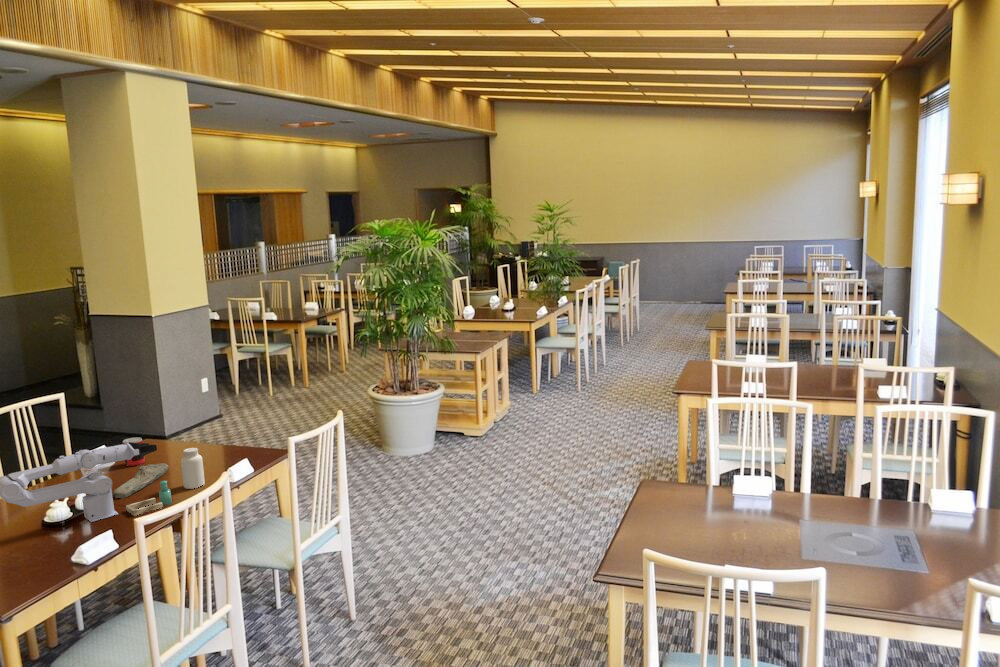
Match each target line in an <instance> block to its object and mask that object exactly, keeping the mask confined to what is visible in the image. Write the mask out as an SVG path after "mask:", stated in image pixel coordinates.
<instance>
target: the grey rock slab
mask: <svg viewBox="0 0 1000 667" xmlns="http://www.w3.org/2000/svg"><path fill="white" fill-rule="evenodd" d="M137 469H138V471H137V472H136V473H135V474H134V476H133V477H132V478H130V479H129V480H127V481H126V482H124V483H123V484H122V485H120V486H117V488H114V490H113V492H112V497H114V498H115V499H116V498H123V499H126V498H125V497H127V498H128V496H132V495H133V494H136V493H138V492H139V491H141V489H142V490H143V489H144V488H146V487H148V486H149V485H152V484H153V482H154V481H156V480H158V479H159V478H161V477H162V476H164V475H165V474H166V472H167V471H168V470H169V465H168V464H167V463H161V462H160V463H156V464H151V463H150V464H149V463H148V464H146V465H144V464H142V465H139V467H138V468H137ZM164 473H165V474H164ZM137 491H138V492H137Z"/></svg>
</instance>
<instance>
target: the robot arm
mask: <svg viewBox="0 0 1000 667" xmlns="http://www.w3.org/2000/svg"><path fill="white" fill-rule="evenodd" d="M156 451H158V446H157V444H150V443H149V442H148V443H147V442H143V443H131V442H128V440H126V441H125V444H123V443H122V444H116V445H113V446H112V445H111V446H106V447H102V448H101V447H100V448H97V449H92V450H89V449H80V450H79V451H76V452H75V453H73V454H70V455H66V456H65V455H59V456H58V458H55V460H54V461H53V462H52V463H51V464H46V465H41V466H38V467H33V468H29V469H24V470H20V471H16V472H11V473H8V474H7V475H3V476H0V497H1V499H2V500H4V501H5V502H7V503H8V504H13V505H16V506H20V507H24V508H26V507H27V508H28V507H32V506H36V505H41V504H43V503H44V504H45V503H49V502H53V501H56V500H61V499H65V498H69V497H73V496H78V495H82V494H84V495H83V496H82V498H81V500H82V508H83V514H84V516H83V517H84V518H85V519H86V520H87V519H88V520H89V521H90V522H89V521H88V520H87V521H88V522H89V523H93V522H96V521H101V520H103V519H104V520H105V519H107V518H110V517H111V518H112V517H114V515H115V516H118V515H119V513H118V512H117V510H115V505H114V498H113V497H114V496H113V491H112V488H113V480H112V478H110V477H109V476H107V475H105V474H104V473H102V472H101V471H98V470H97V471H92V472H90V473H88V474H87V475H84V476H81V477H80V478H79V479H76V480H75V479H74V480H71V481H67V482H63V483H62V482H61V483H58V484H57V483H56V484H53V485H50V486H45V487H40V488H36V489H31V490H28V489H26V488H27V486H28V485H29V483H30V482H33V481H35V480H37V479H38V480H39V479H41V478H44V477H46V476H50V475H53V474H57V475H59V476H62V475H65V474H68V473H72V472H75V471H79V470H81V469H82V468H84V469H90V470H91V469H94V468H95V467H96V466H99V465H105V464H110V463H116V462H121V461H125V460H130V459H131V458H132V457H133V456H135V455H137V459H141V458H142V457H143V456H144V457H145V456H147V455H149V454H151V453H154V452H156ZM85 494H86V495H85ZM100 519H101V520H100Z"/></svg>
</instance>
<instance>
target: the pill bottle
mask: <svg viewBox="0 0 1000 667" xmlns="http://www.w3.org/2000/svg"><path fill="white" fill-rule="evenodd" d="M182 452H183V456H182V457H181V460H180V466H181V474H182V476H181V477H182V483H183V484H182V485H183V488H184V489H186V490H192V489H193V490H194V488H195V489H198V487H199V488H201V487H200V486H202V485H203V486H205V484H206V483H205V472H204V463H203V462H204V461H203V457H202V455H200V454H199V448H197V447H190V448H189V447H188V448H185V449H184V450H182ZM203 486H202V487H203Z"/></svg>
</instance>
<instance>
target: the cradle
mask: <svg viewBox="0 0 1000 667" xmlns="http://www.w3.org/2000/svg"><path fill="white" fill-rule="evenodd" d="M152 504H153V505H152ZM148 505H149V506H148ZM145 506H146V507H145ZM162 507H163V508H164V506H163V503H162V502H160V501H159V502H158V503H157V499H156V498H155V497H152V498H148V499H144V500H142V501H137V502H134V503H130V504H127V505H125V511H126V512H127V513H129V514H130V513H131V514H130V515H132V516H133V517H137V515H138V516H140V515H139V514H141V515H144V514H143V513H144V512H148V513H150V512H149V511H150V510H155V511H157V510H156V509H159V508H160V509H159V510H161V509H163V508H162ZM138 508H139V509H138Z"/></svg>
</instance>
